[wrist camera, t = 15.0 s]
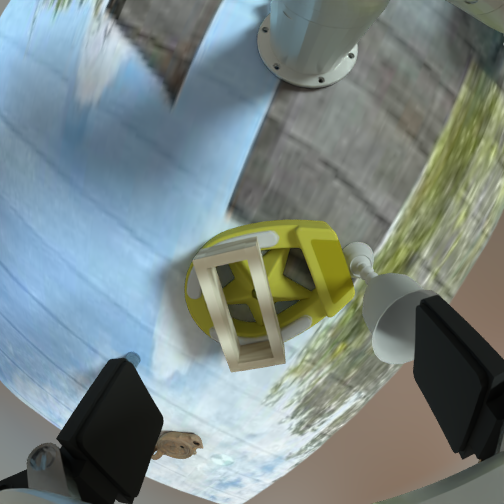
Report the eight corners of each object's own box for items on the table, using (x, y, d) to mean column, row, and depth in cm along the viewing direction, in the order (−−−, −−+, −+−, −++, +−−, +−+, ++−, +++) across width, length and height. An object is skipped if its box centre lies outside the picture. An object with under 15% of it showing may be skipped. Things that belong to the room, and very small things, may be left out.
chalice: (356, 294, 40) (403, 375, 23) (320, 267, 40) (354, 343, 22) (389, 253, 39) (459, 314, 21) (355, 223, 38) (416, 272, 20)
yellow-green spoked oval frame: (354, 302, 41) (363, 319, 37) (222, 349, 45) (217, 369, 40) (316, 193, 37) (323, 198, 32) (170, 253, 40) (158, 266, 36)
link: (200, 249, 35) (192, 260, 32) (256, 236, 35) (255, 245, 31) (234, 354, 39) (231, 372, 36) (284, 344, 39) (285, 363, 35)
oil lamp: (194, 422, 50) (189, 441, 45) (213, 444, 52) (210, 462, 47) (142, 431, 52) (135, 447, 47) (163, 451, 54) (157, 467, 49)
